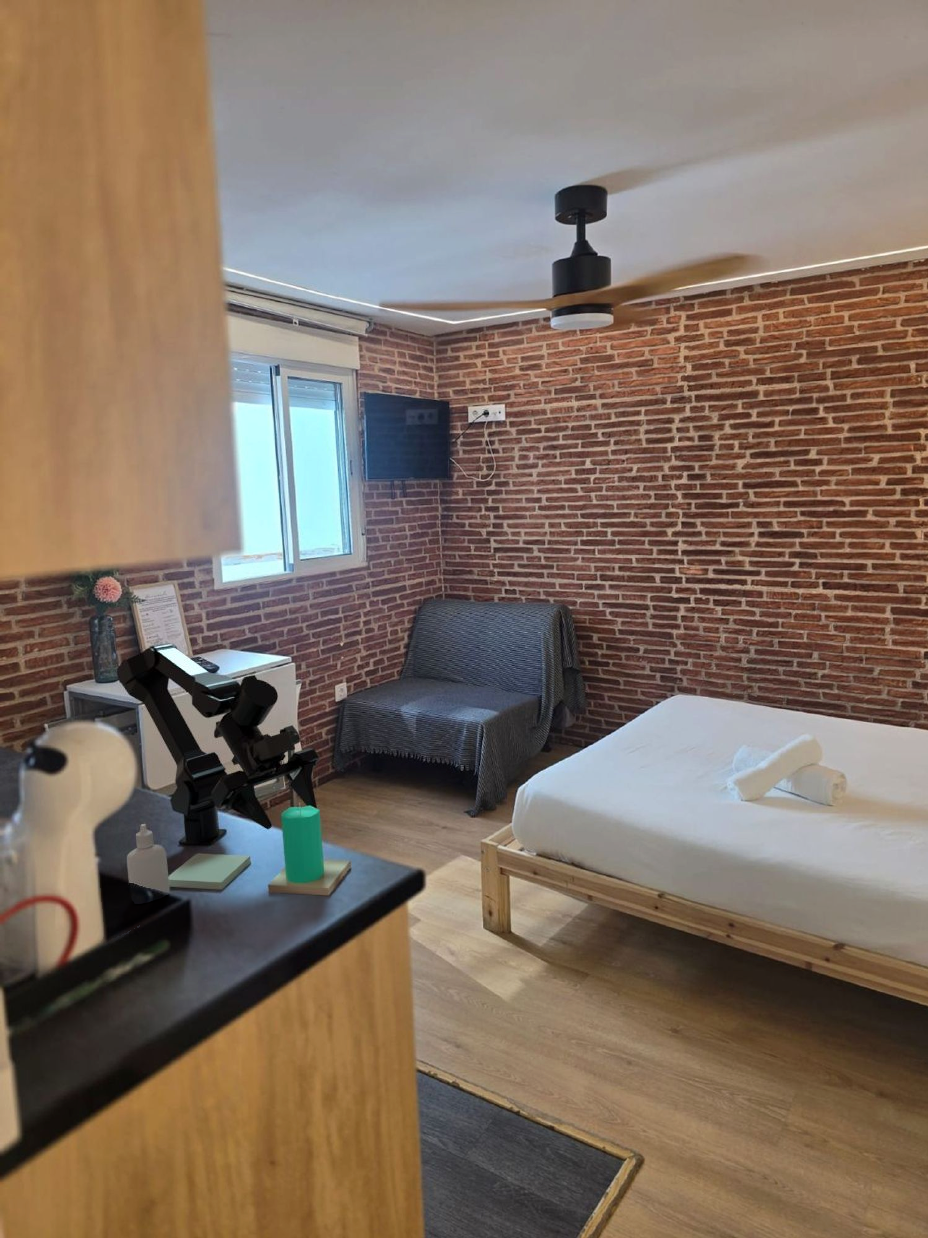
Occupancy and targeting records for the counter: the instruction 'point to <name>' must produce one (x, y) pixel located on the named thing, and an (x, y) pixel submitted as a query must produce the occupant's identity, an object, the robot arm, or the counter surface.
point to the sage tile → (208, 871)
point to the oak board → (321, 886)
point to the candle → (302, 844)
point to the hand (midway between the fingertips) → (293, 818)
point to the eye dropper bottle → (148, 863)
